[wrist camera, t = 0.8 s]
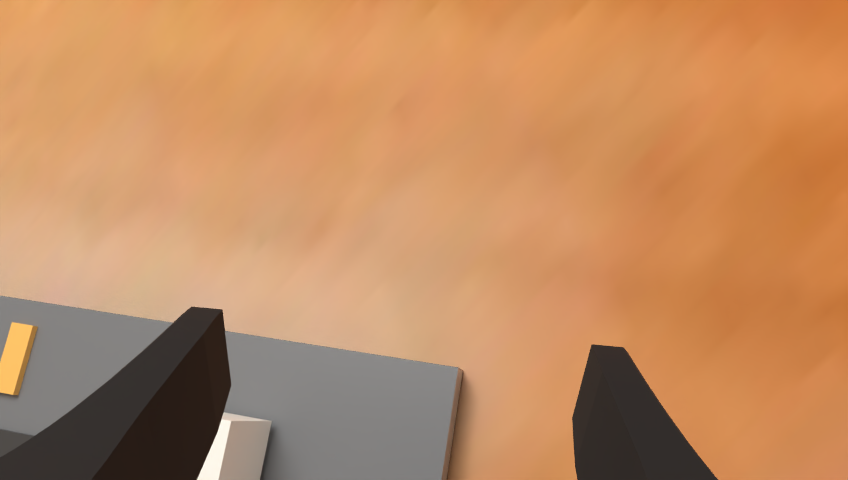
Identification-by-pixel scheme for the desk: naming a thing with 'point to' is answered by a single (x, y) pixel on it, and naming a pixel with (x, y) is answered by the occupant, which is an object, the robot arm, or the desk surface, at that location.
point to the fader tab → (237, 449)
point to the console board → (243, 393)
